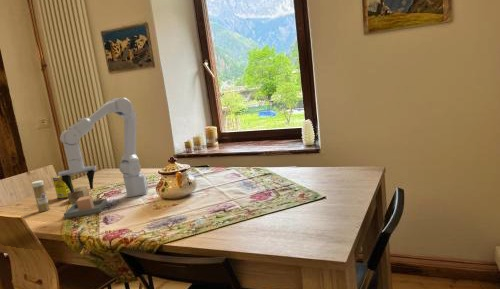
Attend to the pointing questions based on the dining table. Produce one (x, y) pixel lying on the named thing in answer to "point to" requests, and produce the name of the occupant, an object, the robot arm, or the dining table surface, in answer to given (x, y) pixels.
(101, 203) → the tray
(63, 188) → the supplement box
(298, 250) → the dining table surface
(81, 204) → the terracotta block
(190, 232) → the dining table surface
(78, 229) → the dining table surface
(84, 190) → the oak block
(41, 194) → the sprinkles bottle
